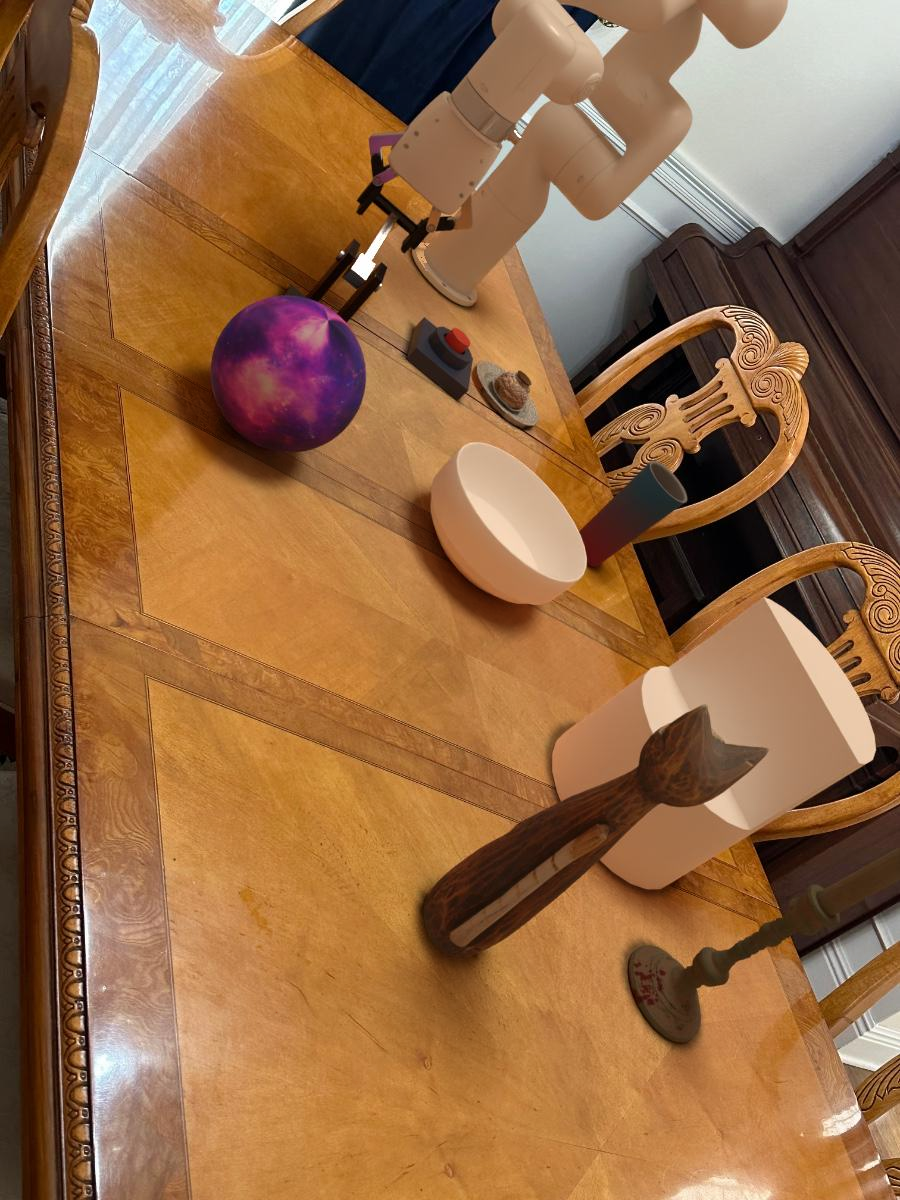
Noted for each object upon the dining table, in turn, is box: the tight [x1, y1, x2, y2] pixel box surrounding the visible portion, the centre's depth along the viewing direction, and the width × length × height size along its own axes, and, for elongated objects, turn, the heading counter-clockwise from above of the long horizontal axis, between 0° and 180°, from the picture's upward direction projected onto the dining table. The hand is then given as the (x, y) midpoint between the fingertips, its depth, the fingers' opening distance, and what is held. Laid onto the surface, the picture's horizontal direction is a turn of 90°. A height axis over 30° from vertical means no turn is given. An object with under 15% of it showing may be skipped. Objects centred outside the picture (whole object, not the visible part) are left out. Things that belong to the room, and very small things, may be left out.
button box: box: [406, 316, 474, 401], centre depth 158 cm, size 10×9×4 cm
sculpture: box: [423, 705, 769, 958], centre depth 86 cm, size 7×9×30 cm
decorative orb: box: [210, 295, 367, 453], centre depth 114 cm, size 15×15×15 cm
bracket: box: [282, 238, 389, 324], centre depth 136 cm, size 10×9×12 cm
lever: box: [341, 192, 418, 290], centre depth 136 cm, size 12×6×2 cm
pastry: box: [476, 360, 540, 429], centre depth 166 cm, size 12×12×5 cm
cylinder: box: [551, 596, 877, 890], centre depth 115 cm, size 19×19×25 cm
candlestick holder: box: [628, 846, 900, 1044], centre depth 100 cm, size 9×9×30 cm
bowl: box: [430, 441, 588, 606], centre depth 131 cm, size 20×20×8 cm
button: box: [444, 327, 471, 354], centre depth 156 cm, size 3×3×2 cm
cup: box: [578, 460, 688, 568], centre depth 151 cm, size 7×7×15 cm
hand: (382, 228), depth 139 cm, fingers closed on lever, 6 cm apart
